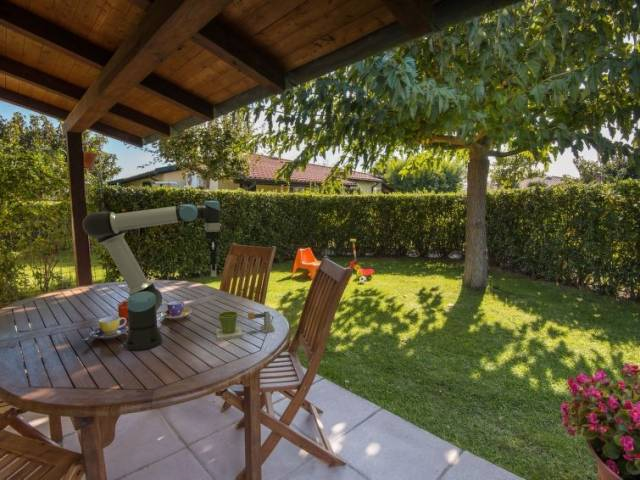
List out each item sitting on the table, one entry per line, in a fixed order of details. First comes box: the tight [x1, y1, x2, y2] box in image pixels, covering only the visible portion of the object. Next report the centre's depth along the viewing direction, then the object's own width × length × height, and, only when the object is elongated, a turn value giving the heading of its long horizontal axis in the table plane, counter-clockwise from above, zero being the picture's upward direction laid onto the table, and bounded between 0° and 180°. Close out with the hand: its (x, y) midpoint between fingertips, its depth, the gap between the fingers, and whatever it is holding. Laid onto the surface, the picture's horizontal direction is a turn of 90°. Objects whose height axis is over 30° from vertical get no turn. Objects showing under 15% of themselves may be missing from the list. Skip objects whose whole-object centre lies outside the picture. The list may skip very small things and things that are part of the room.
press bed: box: [215, 326, 244, 342], centre depth 169 cm, size 12×11×2 cm
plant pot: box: [217, 310, 239, 333], centre depth 170 cm, size 9×9×9 cm
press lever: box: [247, 311, 270, 320], centre depth 173 cm, size 10×4×2 cm, turn 109°
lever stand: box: [259, 310, 276, 334], centre depth 175 cm, size 6×7×9 cm
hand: (213, 276), depth 178 cm, fingers closed
